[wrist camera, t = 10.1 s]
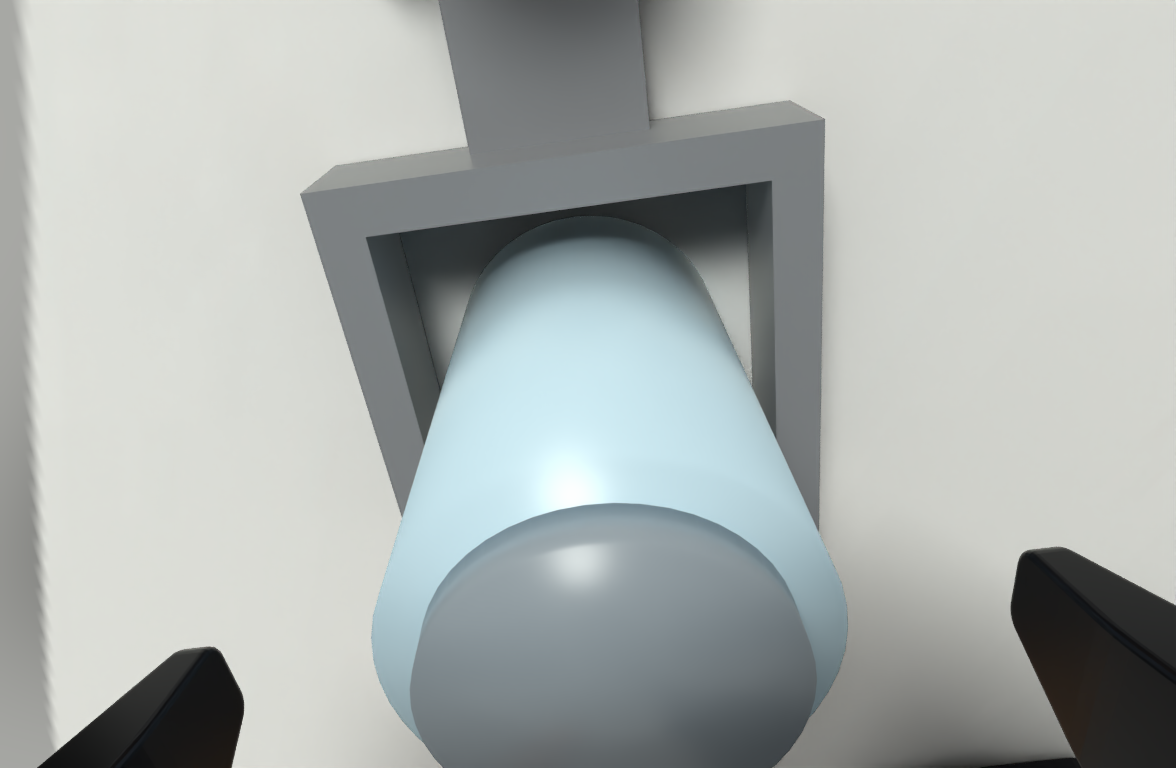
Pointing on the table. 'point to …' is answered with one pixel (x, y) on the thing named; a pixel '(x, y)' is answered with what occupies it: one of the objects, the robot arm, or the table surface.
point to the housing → (574, 204)
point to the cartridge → (603, 530)
